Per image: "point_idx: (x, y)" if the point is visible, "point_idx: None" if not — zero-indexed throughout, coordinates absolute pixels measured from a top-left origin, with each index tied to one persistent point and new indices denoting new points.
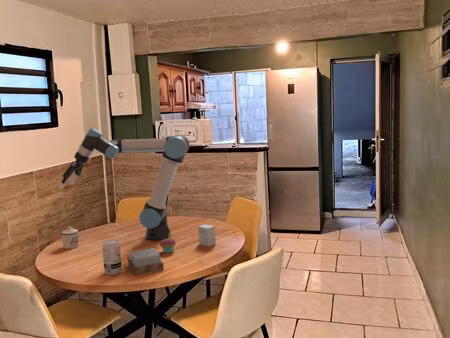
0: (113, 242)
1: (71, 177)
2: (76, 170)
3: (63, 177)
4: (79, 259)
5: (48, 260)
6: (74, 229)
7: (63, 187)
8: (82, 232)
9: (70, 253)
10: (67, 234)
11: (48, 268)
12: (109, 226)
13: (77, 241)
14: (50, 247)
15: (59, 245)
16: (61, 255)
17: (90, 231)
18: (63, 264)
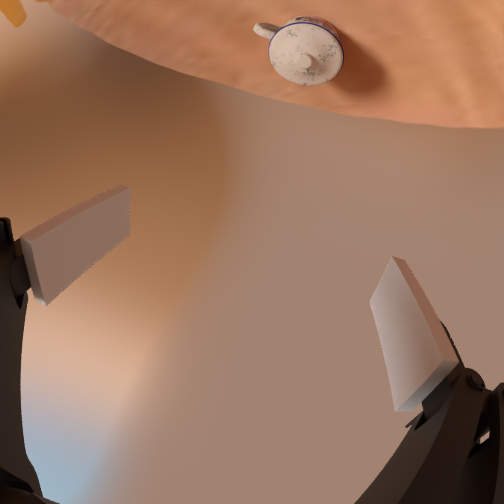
0: None
1: (86, 268)
2: (10, 352)
3: (411, 401)
4: (469, 26)
5: (436, 105)
6: (301, 38)
7: (404, 269)
8: (140, 51)
9: (395, 40)
10: (342, 61)
11: (497, 113)
12: (80, 2)
13: (320, 20)
14: (300, 103)
15: (283, 80)
16: (405, 68)
17: (129, 31)
18: (490, 75)
